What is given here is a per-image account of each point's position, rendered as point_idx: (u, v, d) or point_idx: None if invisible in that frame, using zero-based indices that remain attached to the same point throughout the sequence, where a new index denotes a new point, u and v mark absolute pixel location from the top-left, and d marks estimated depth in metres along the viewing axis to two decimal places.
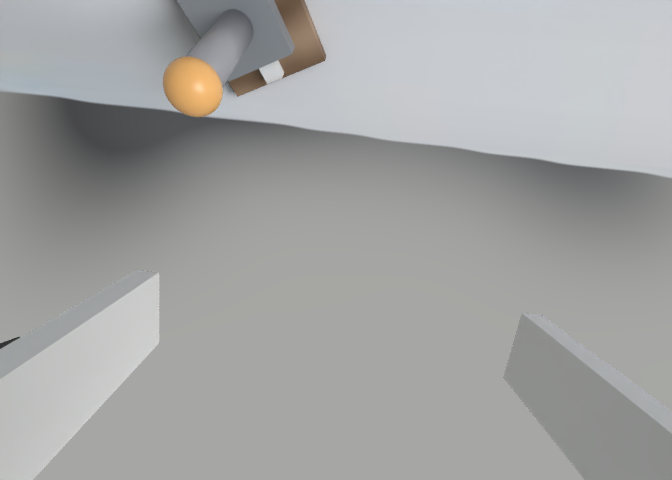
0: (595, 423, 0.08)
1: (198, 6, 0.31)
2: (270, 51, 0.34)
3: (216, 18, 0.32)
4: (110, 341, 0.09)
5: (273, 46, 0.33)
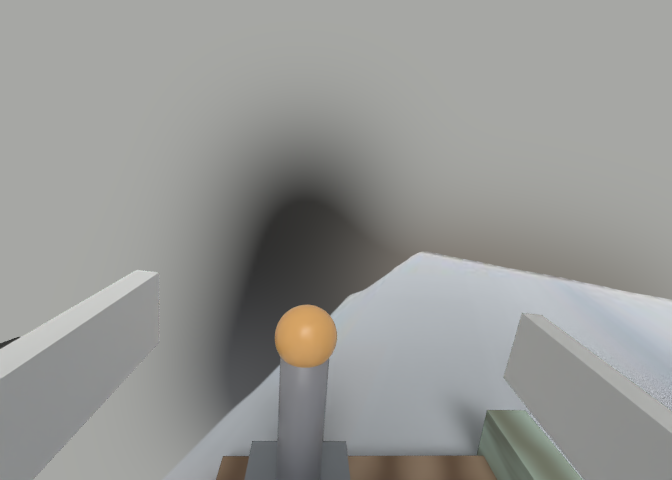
0: (595, 423, 0.08)
1: (333, 458, 0.27)
2: None
3: None
4: (110, 341, 0.09)
5: None
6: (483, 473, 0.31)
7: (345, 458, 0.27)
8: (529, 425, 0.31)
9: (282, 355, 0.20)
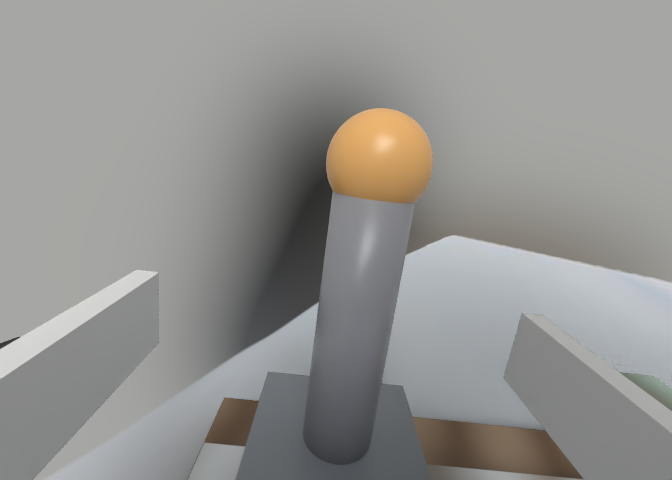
0: (595, 423, 0.08)
1: (387, 404, 0.18)
2: (264, 466, 0.13)
3: None
4: (110, 341, 0.09)
5: (269, 479, 0.13)
6: None
7: (405, 406, 0.18)
8: (668, 393, 0.21)
9: (341, 177, 0.11)
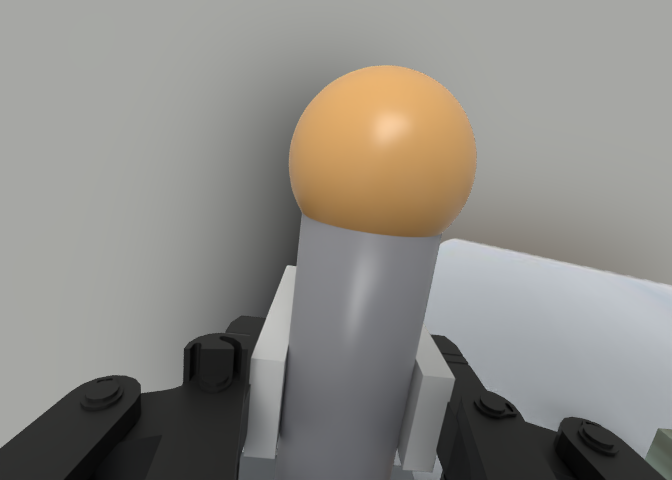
0: None
1: None
2: None
3: None
4: None
5: None
6: None
7: None
8: None
9: (311, 191, 0.06)
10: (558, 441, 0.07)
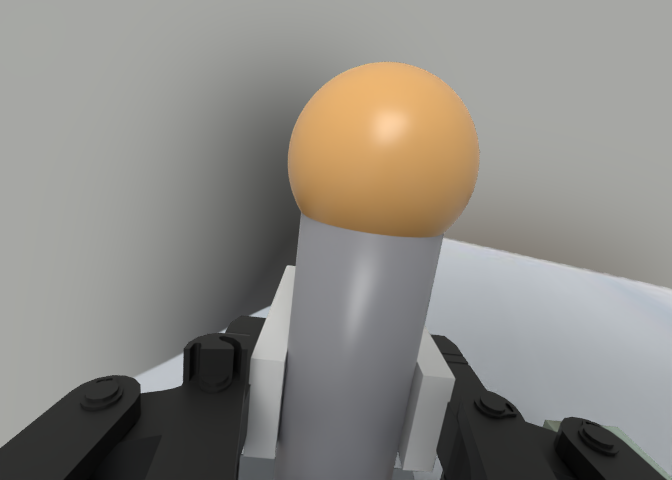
0: None
1: None
2: None
3: None
4: None
5: None
6: None
7: None
8: None
9: (310, 190, 0.06)
10: (558, 441, 0.07)
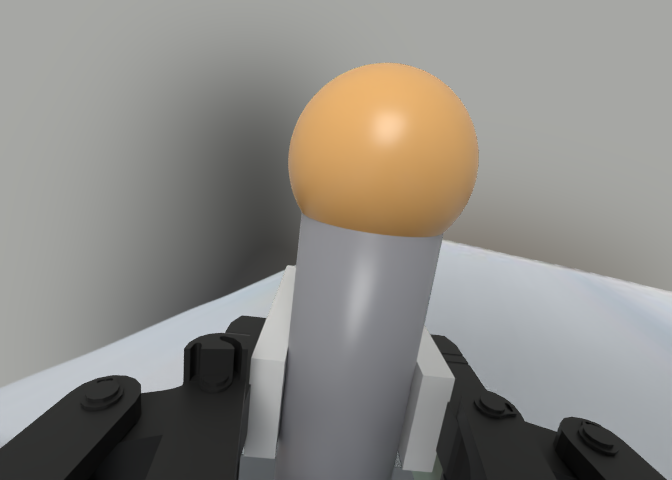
0: None
1: None
2: None
3: None
4: None
5: None
6: None
7: None
8: None
9: (311, 190, 0.06)
10: (557, 441, 0.07)
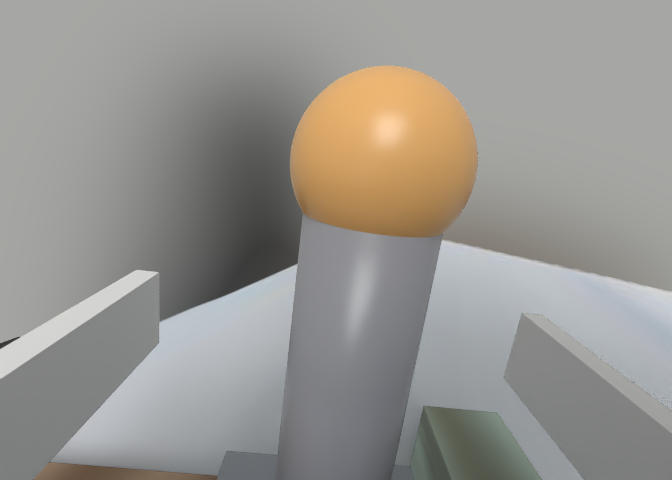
0: (595, 423, 0.08)
1: None
2: None
3: None
4: (110, 341, 0.09)
5: None
6: None
7: None
8: (500, 441, 0.16)
9: (312, 191, 0.06)
10: None
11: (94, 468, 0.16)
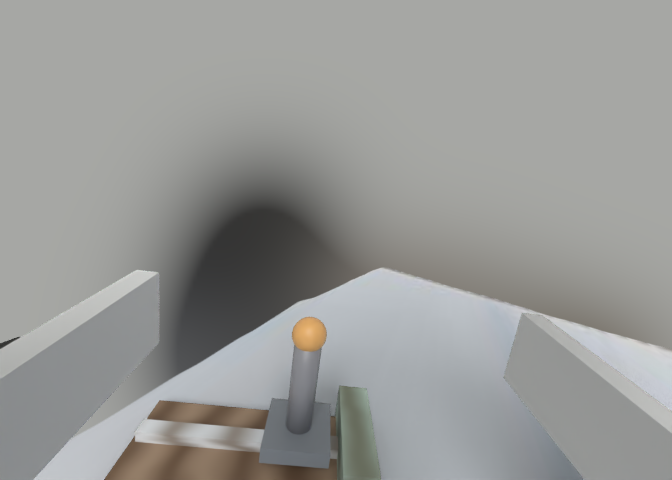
0: (595, 423, 0.08)
1: (321, 412, 0.44)
2: (272, 435, 0.39)
3: None
4: (110, 341, 0.09)
5: (273, 438, 0.39)
6: None
7: (328, 412, 0.44)
8: (362, 396, 0.46)
9: (295, 343, 0.37)
10: None
11: (224, 407, 0.47)
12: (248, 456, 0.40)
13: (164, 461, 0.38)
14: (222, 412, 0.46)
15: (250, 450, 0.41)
